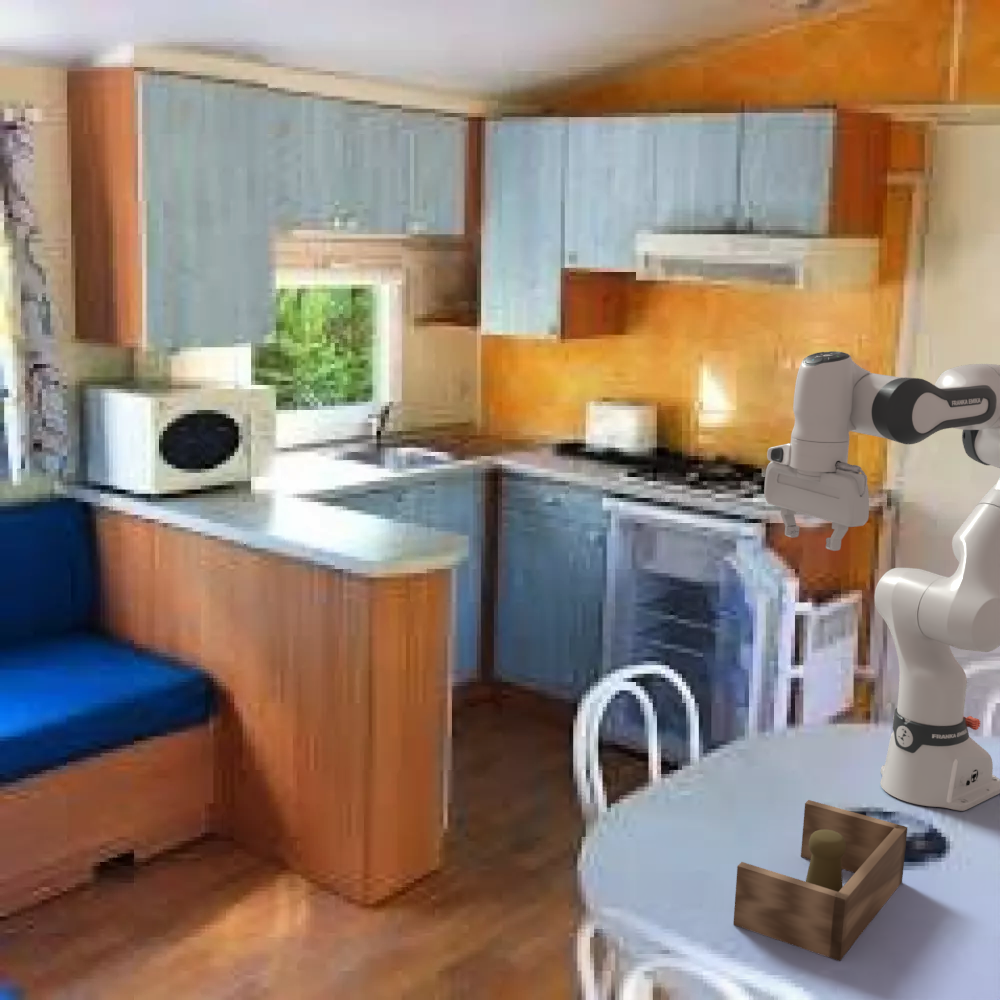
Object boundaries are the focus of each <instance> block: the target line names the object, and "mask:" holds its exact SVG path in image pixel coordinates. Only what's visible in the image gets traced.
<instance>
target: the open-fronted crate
mask: <svg viewBox="0 0 1000 1000" xmlns="http://www.w3.org/2000/svg"><path fill="white" fill-rule="evenodd" d="M802 825H803V826H802V836H801V837H802V838H801V847H800V849H801V850H800V851H801V852H800V857H801V858H805V859H807V860H808V859H809V860H811V856H812V853H811V851H810V849H809V839H810V837H811V835H812V834H813V833H814V832H815V831H818V830H823V829H825V830H832V831H835V832H837V833H839V834H841V835H842V836H843V838H844V840H845V842H846V849H845V853H844V855H843V856H842V857H841V867H842V870H844V871H848V872H851V873H853V874H852V876H851V877H850V878H849V879H848V880H847V882H846V883H845V884H844V885H843V887H842V888H841V890H840V891H839V892H837V891H834V890H831V889H827V888H824V887H821V886H818V885H815V884H811V883H808V882H806V880H805V881H804V880H801V879H799V878H795V877H792V876H789V875H785V874H782V873H779V872H777V871H773V870H769V869H766V868H764V867H761V866H756V865H753V864H750V863H747V862H744V861H741V862H740V863H739V864H737V867H736V868H737V869H736V881H735V883H736V884H735V898H734V908H733V925H734V926H736V927H739V928H742V929H745V930H748V931H751V932H754V933H757V934H759V935H762V936H764V937H765V936H766V937H769V938H771V939H774V940H777V941H780V942H783V943H786V944H789V945H792V946H795V947H797V948H799V949H800V948H801V949H803V950H806V951H809V952H812V953H815V954H818V955H821V956H824V957H827V958H830V959H832V960H835V961H838V962H841V961H842V959H843V958H844V957H845V956H846V954H847V953H848V952H849V951H850V949H851V948H852V947H851V946H853V945H854V944H855V943H856V942H857V940H858V939H859V938H860V936H861V935H862V934H863V933H864V932H865V930H866V929H867V927H868V926H869V925H870V924H871V923H872V921H873V920H874V919H875V917H876V916H878V914H879V912H880V911H881V910H882V908H883V907H884V906H885V905H886V903H887V902H888V901H889V900H890V899H891V897H892V896H893V895H894V893H895V892H896V891H897V889H898V888H899V887H900V886H901V884H902V883H903V876H904V867H905V866H904V865H905V856H906V855H905V854H906V847H907V846H906V845H907V835H908V826H906V825H901V824H897V823H893V822H890V821H886V820H884V819H879V818H875V817H872V816H869V815H865V814H861V813H858V812H853V811H850V810H846V809H843V808H840V807H835V806H832V805H828V804H825V803H822V802H819V801H814V800H811V799H808V800H807V801H806V802H805V803H804V813H803V823H802Z"/></svg>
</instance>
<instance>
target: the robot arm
mask: <svg viewBox="0 0 1000 1000" xmlns="http://www.w3.org/2000/svg"><path fill="white" fill-rule="evenodd" d="M792 407H793V408H792V411H793V415H794V424H793V425H794V426H793V428H792V431H791V434H790V442H789V443H785V444H780V445H776V446H771V447H769V448H767V452H766V454H767V455H766V457H767V460H768V461H770V462H769V463H768V464H767V466H766V469H765V476H764V477H765V478H764V489H763V491H764V493H763V494H764V498H765V501H766V502H767V504H768V505H772V506H775V507H779V508H780V516H781V518H782V521H783V524H784V535H785V536H786V537H787V538H788V537H789V538H792V539H793V538H794V539H795V538H798V537H799V536H800V526H799V525H797V522H796V519H795V515H796V514H797V513H799V514H804V515H807V516H810V517H814V518H817V519H820V520H823V521H828V522H831V529H832V530H833V532H832V534H831V536H830V537H826V539H825V543H826V544H825V549H827V550H830V551H833V552H836V551H840V550H841V548H842V547H841V546H842V540H843V539H844V537H845V535H846V534H847V532H848V531H849V528H853V527H854V528H855V527H863V526H864V525H865V524H866V523H867V522H868V521H869V515H870V513H869V512H870V499H869V497H870V496H869V486H868V475H867V474H866V473H865V471H864V470H863V469H862V467H861V466H860V465H856V464H850V463H848V462H849V459H848V458H849V447H850V434H849V433H850V432H854V433H857V434H862V435H867V436H873V437H877V438H882V439H883V438H884V439H887V440H890V441H893V442H896V443H900V444H904V445H915V444H918V443H920V442H922V441H924V440H925V439H928V438H929V437H931V436H932V435H934V434H936V433H937V432H939V431H942V430H946V429H957V430H961V431H962V433H961V441H962V445H963V449H964V451H965V453H966V455H967V456H968V458H970V459H972V460H973V461H975V462H978V463H980V464H982V465H984V466H993V467H995V468H999V469H1000V364H997V363H996V364H995V363H972V364H963V365H959V366H955V367H952V368H948V369H946V370H944V371H943V372H942V373H941V374H940V375H939V376H938V378H937V380H936V381H935V383H934V384H933V383H932V382H931V381H930V382H929V381H928V380H926V379H925V378H924V379H923V378H920V377H919V378H918V377H900V376H893V375H888V374H880V373H872V372H871V371H869V370H867V369H865V368H863V367H862V366H859V365H858V364H857V363H855V361H853V359H852V357H851V355H850V354H849V353H846V352H843V351H835V350H834V351H821V352H816V353H811V354H809V355H808V356H807V355H806V357H805V358H803V359H802V361H801V362H800V364H799V368H798V371H797V375H796V380H795V386H794V394H793V406H792ZM951 547H952V549H951V550H952V553H953V555H954V557H955V559H956V560H957V562H958V565H957V569H956V570H955V572H954V573H953V574H952V575H951V576H949V577H948V576H945V575H943V574H942V575H941V574H937V573H935V572H932V571H928V570H925V569H922V568H914V567H913V568H912V567H895V568H891V569H889V570H888V571H886V572H885V573H884V574H883V575H882V577H881V578H880V579H879V580H878V582H877V584H876V587H875V591H874V605H875V608H876V611H877V612H878V613H879V615H880V617H882V618H883V620H884V622H885V623H886V625H887V627H888V629H889V631H890V634H891V637H892V640H893V643H894V647H895V650H896V655H897V661H898V667H899V677H898V678H899V679H898V681H899V683H898V694H897V696H898V697H897V707H895V709H894V714H893V716H892V717H893V718H892V731H893V732H891V735H890V738H889V743H888V748H887V753H886V757H885V763H884V765H881V768H880V775H882V777H881V779H880V787H881V788H882V789H883V791H885V792H886V793H887V794H888V795H890V796H892V797H894V798H897V799H898V800H901V801H904V802H907V803H910V804H914V805H919V806H926V807H933V808H934V807H935V808H936V807H937V808H945V809H951V810H954V811H961V812H962V811H963V812H964V811H967V810H969V809H971V808H974V807H976V806H977V805H979V804H981V803H983V802H985V801H987V800H989V799H991V798H993V797H995V796H997V795H999V794H1000V778H999V777H997V775H996V776H995V775H994V774H993V771H994V770H993V769H994V768H993V758H992V756H991V754H990V753H989V752H988V751H987V750H986V749H985V748H983V747H982V746H981V745H980V744H979V743H977V742H976V741H975V740H974V739H973V738H972V737H970V734H969V731H968V730H969V729H968V728H970V729H972V730H973V731H977V730H978V729H979V728H980V727H981V721H980V718H979V719H978V718H976V717H975V718H974V716H972V715H969V716H967V717H966V716H964V715H965V714H964V713H965V703H966V694H967V693H966V692H967V686H968V685H967V684H968V680H967V674H966V672H965V670H964V668H963V667H962V665H961V664H960V663H959V661H958V660H957V659H956V658H955V655H954V654H953V652H952V649H951V647H954V648H956V649H959V650H961V651H962V650H963V651H969V652H979V653H990V652H993V651H995V650H996V649H999V648H1000V475H999V476H998V479H997V482H996V483H995V484H994V485H993V486H992V487H991V488H990V489H989V490H988V491H987V492H986V493H985V495H984V496H983V497H981V499H980V500H979V502H978V503H977V504H976V505H975V507H974V508H973V510H972V511H971V512H970V513H969V514H968V516H967V517H966V519H965V520H964V521H963V523H962V524H961V525H960V527H959V528H958V529H957V530H956V532H955V533H954V534H953V536H952V540H951Z"/></svg>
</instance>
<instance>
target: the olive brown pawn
mask: <svg viewBox="0 0 1000 1000" xmlns="http://www.w3.org/2000/svg"><path fill="white" fill-rule="evenodd" d="M809 849H810V851H811V853H812V856H811V859H809V860H810V861H809V865H808V870H807V875H806V878H805V882H808V883H811V884H815V885H818V886H821V887H824V888H827V889H831V890H834V891H837V892H839V891H840V890H841V888H842V887H843V886H844V885H843V871H842V870H843V869H842V867H841V857H842V856H843V855H844V853H845V849H846V842H845V840H844V838H843V836H842V835H841V834H839V833H837V832H835V831H832V830H825V829H823V830H818V831H815V832H814V833H813V834H812V835H811V837H810V839H809Z"/></svg>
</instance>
